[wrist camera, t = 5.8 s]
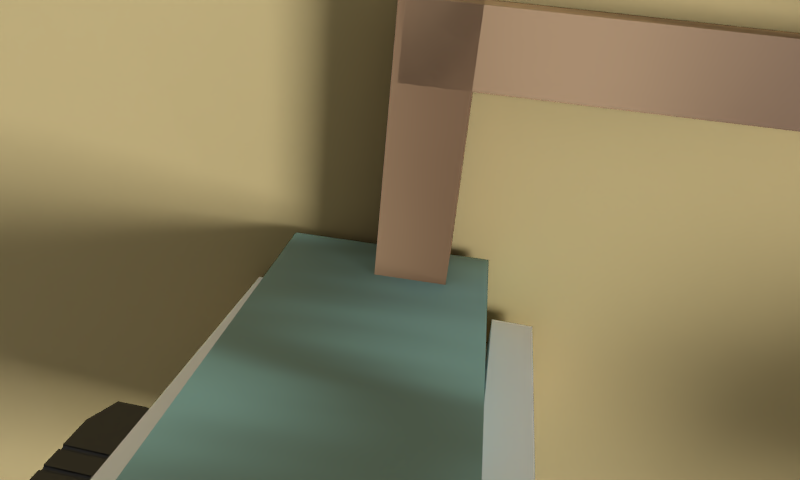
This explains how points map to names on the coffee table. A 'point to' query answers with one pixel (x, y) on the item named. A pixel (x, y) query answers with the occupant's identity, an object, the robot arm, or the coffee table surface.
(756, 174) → the coffee table surface
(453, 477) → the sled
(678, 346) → the coffee table surface
